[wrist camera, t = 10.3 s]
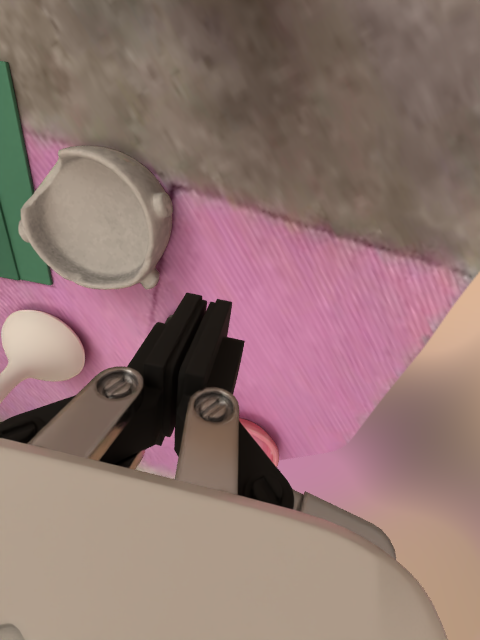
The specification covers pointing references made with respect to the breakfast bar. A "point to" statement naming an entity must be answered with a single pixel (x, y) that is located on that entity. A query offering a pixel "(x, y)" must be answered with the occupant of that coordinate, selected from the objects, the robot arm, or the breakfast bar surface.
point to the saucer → (262, 440)
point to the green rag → (15, 192)
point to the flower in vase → (38, 349)
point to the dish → (99, 219)
